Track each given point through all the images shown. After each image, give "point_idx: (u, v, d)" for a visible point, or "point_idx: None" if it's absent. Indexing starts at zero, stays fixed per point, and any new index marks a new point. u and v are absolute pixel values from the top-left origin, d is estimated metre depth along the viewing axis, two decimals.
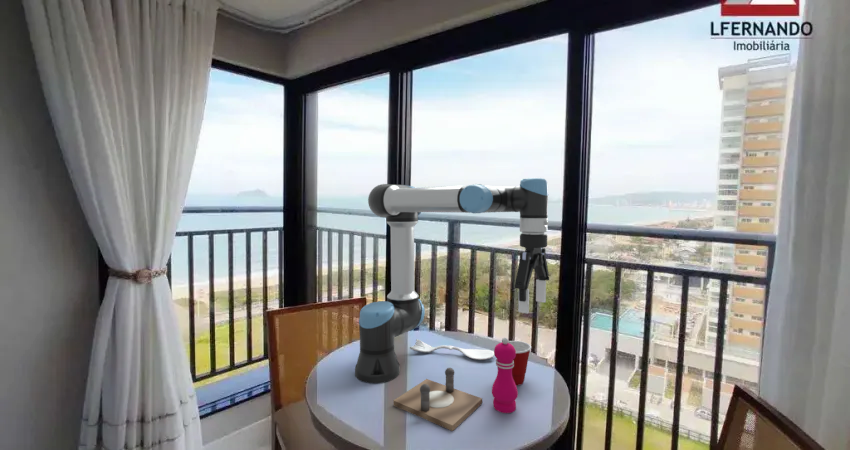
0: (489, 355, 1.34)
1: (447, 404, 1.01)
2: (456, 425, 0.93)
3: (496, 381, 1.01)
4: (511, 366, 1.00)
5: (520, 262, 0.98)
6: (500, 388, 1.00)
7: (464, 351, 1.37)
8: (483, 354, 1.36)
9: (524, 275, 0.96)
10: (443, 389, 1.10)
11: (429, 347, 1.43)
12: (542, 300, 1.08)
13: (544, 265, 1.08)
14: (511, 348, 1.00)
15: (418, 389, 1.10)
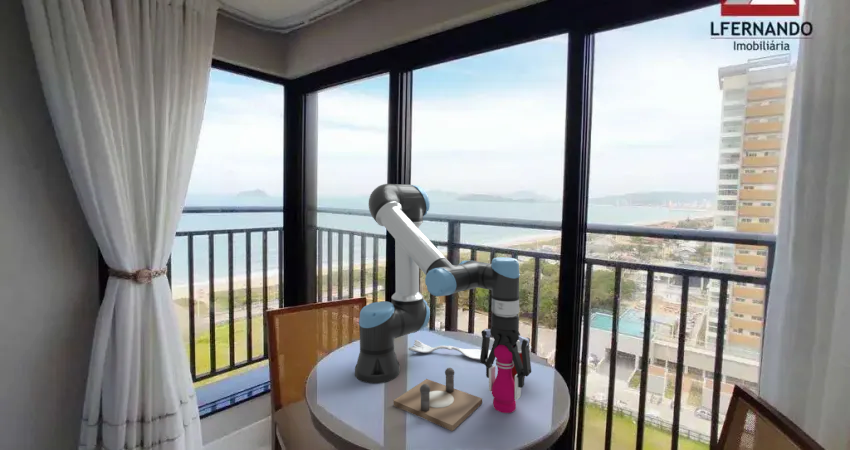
0: (488, 355, 1.34)
1: (447, 404, 1.01)
2: (456, 425, 0.93)
3: (496, 381, 1.01)
4: (511, 366, 1.00)
5: None
6: (500, 388, 1.00)
7: (463, 351, 1.37)
8: None
9: None
10: (443, 389, 1.10)
11: (428, 347, 1.42)
12: None
13: None
14: None
15: (418, 389, 1.10)
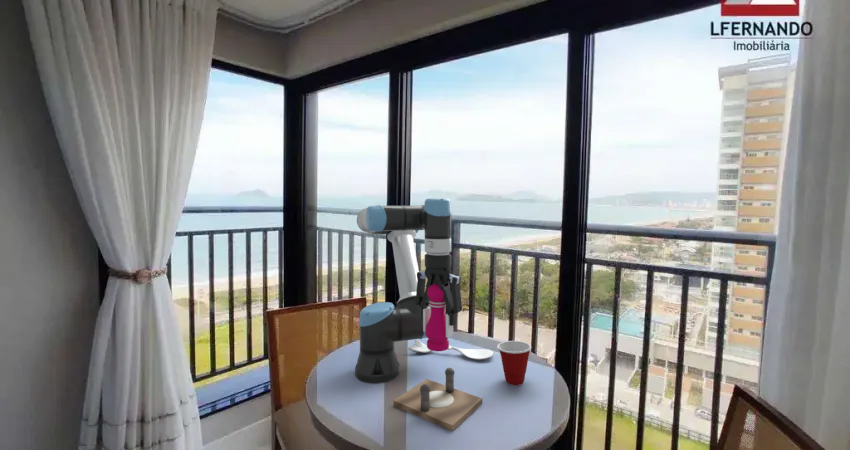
0: (488, 355, 1.34)
1: (447, 404, 1.01)
2: (456, 425, 0.93)
3: (429, 321, 1.02)
4: (443, 305, 1.01)
5: None
6: (432, 326, 1.00)
7: (463, 351, 1.37)
8: (482, 354, 1.37)
9: None
10: (443, 389, 1.10)
11: None
12: None
13: None
14: None
15: (418, 389, 1.10)
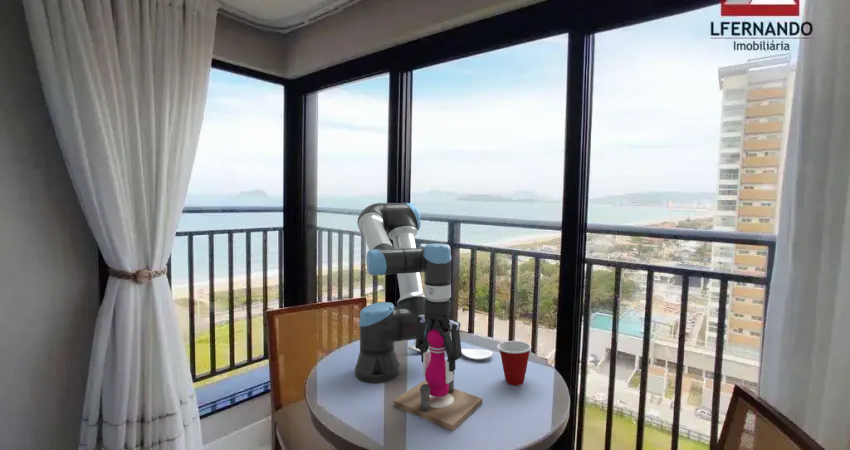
0: (487, 355, 1.34)
1: (447, 404, 1.01)
2: (456, 425, 0.93)
3: (429, 365, 1.03)
4: (443, 350, 1.01)
5: None
6: (432, 372, 1.01)
7: (462, 351, 1.37)
8: (481, 354, 1.36)
9: None
10: None
11: None
12: None
13: None
14: None
15: (418, 389, 1.10)
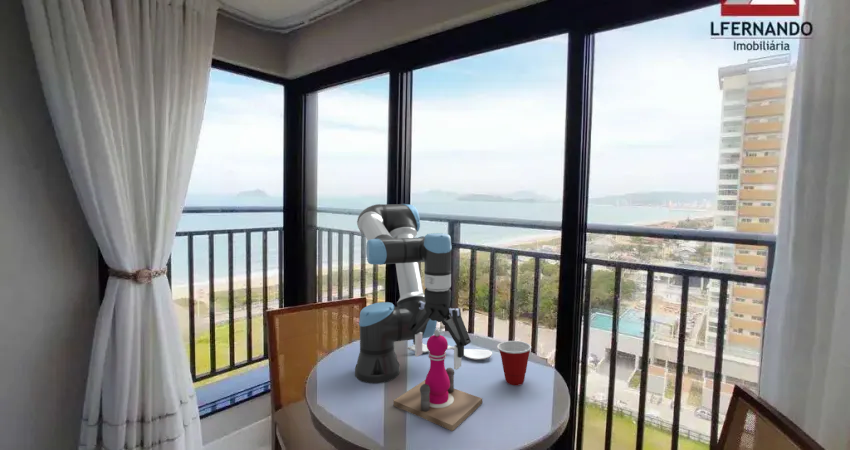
0: (486, 355, 1.34)
1: (447, 404, 1.01)
2: (456, 425, 0.93)
3: (428, 373, 1.03)
4: (442, 358, 1.01)
5: None
6: (431, 379, 1.01)
7: None
8: (481, 354, 1.37)
9: None
10: None
11: None
12: None
13: None
14: (442, 340, 1.01)
15: (418, 389, 1.10)
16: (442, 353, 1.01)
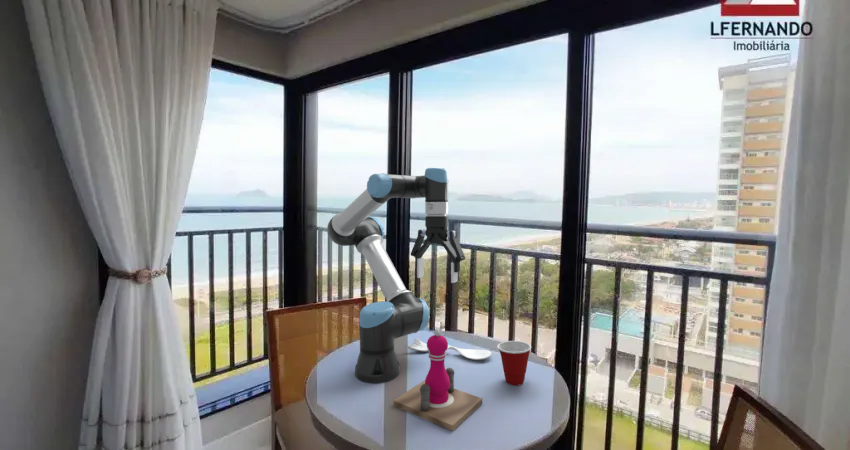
0: (485, 355, 1.33)
1: (447, 404, 1.01)
2: (456, 425, 0.93)
3: (428, 373, 1.03)
4: (442, 358, 1.01)
5: None
6: (431, 379, 1.01)
7: (461, 351, 1.37)
8: (480, 354, 1.36)
9: None
10: None
11: None
12: None
13: None
14: (442, 340, 1.01)
15: (418, 389, 1.10)
16: (442, 353, 1.01)
